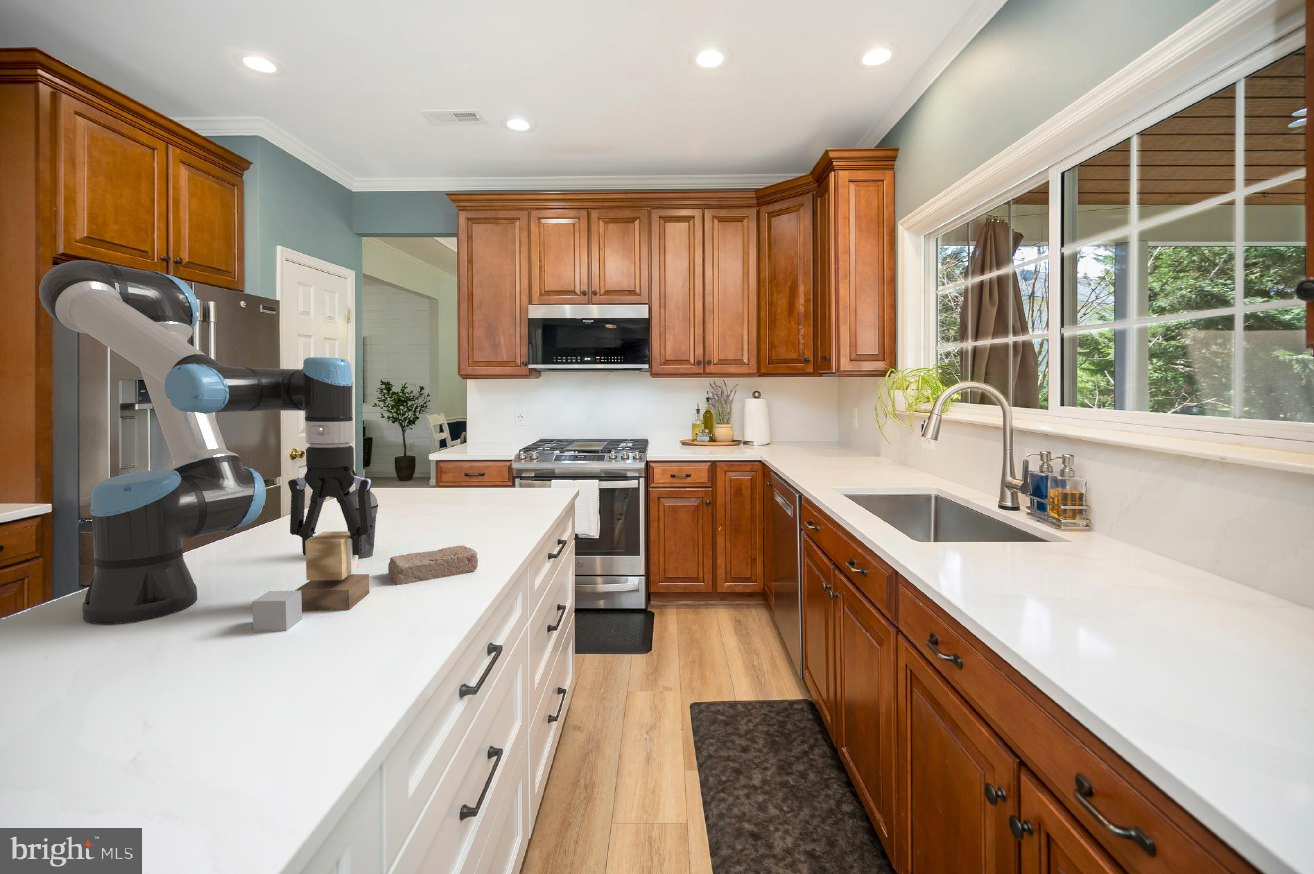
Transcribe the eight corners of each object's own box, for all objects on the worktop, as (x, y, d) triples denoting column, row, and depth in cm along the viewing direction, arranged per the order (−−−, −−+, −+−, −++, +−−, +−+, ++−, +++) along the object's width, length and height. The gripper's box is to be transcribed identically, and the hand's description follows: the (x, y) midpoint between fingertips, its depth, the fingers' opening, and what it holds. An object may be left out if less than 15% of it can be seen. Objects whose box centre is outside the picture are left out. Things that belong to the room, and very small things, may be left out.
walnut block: (295, 612, 105) (294, 590, 105) (319, 595, 114) (319, 574, 113) (349, 612, 106) (348, 589, 105) (369, 594, 115) (369, 574, 114)
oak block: (306, 580, 106) (305, 540, 105) (325, 568, 113) (323, 531, 112) (342, 579, 106) (341, 540, 106) (358, 568, 113) (357, 531, 113)
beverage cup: (337, 559, 137) (335, 471, 135) (358, 550, 144) (356, 467, 143) (366, 560, 136) (364, 472, 134) (386, 552, 143) (384, 468, 141)
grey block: (253, 632, 96) (252, 601, 95) (270, 620, 101) (269, 590, 100) (286, 631, 96) (285, 600, 96) (302, 619, 101) (301, 590, 101)
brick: (397, 587, 119) (397, 563, 119) (386, 576, 126) (386, 554, 125) (479, 573, 129) (479, 551, 129) (465, 564, 136) (465, 543, 135)
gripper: (262, 446, 103) (266, 579, 105) (377, 447, 105) (379, 578, 106) (285, 442, 110) (289, 567, 112) (392, 443, 112) (394, 566, 114)
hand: (333, 572), depth 109 cm, fingers closed on oak block, 6 cm apart
